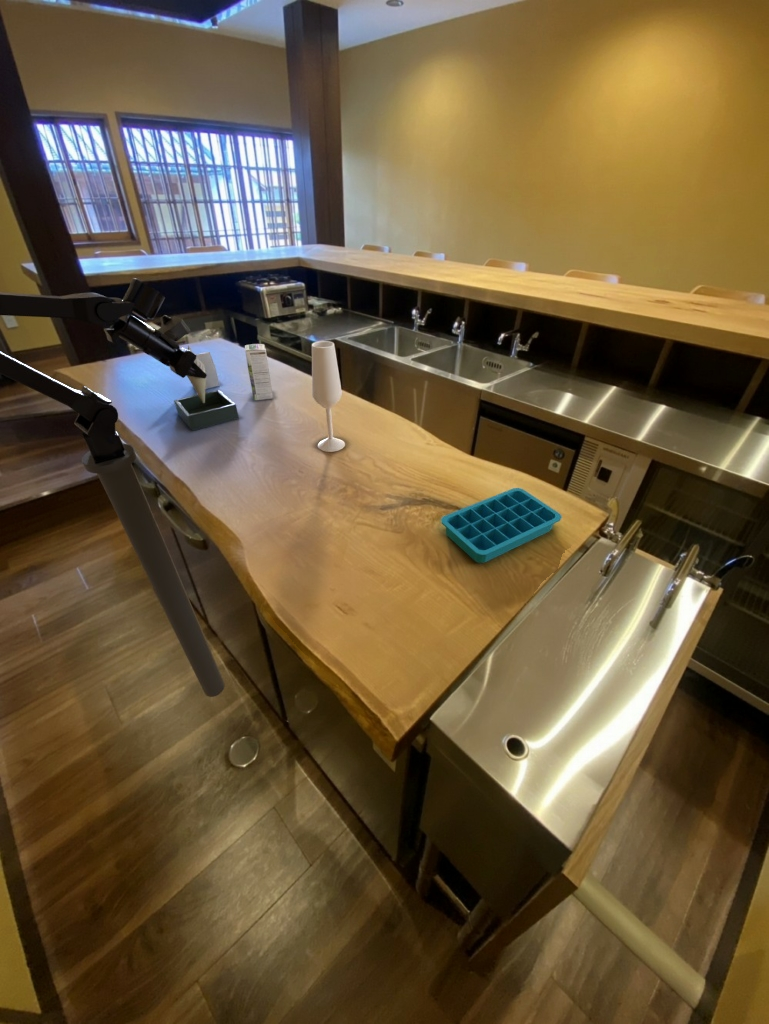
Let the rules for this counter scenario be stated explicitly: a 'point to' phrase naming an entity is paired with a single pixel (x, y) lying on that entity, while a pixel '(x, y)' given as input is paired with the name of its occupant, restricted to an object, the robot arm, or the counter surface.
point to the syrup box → (258, 371)
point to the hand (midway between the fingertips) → (201, 373)
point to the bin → (206, 410)
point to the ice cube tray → (499, 524)
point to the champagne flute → (326, 387)
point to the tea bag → (209, 369)
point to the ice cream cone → (198, 380)
